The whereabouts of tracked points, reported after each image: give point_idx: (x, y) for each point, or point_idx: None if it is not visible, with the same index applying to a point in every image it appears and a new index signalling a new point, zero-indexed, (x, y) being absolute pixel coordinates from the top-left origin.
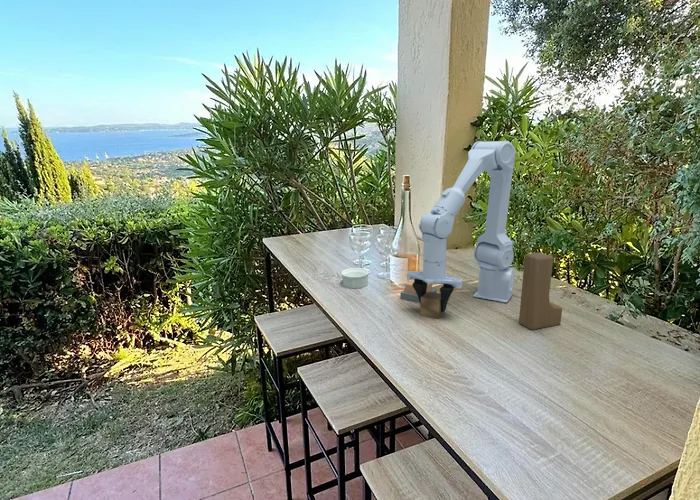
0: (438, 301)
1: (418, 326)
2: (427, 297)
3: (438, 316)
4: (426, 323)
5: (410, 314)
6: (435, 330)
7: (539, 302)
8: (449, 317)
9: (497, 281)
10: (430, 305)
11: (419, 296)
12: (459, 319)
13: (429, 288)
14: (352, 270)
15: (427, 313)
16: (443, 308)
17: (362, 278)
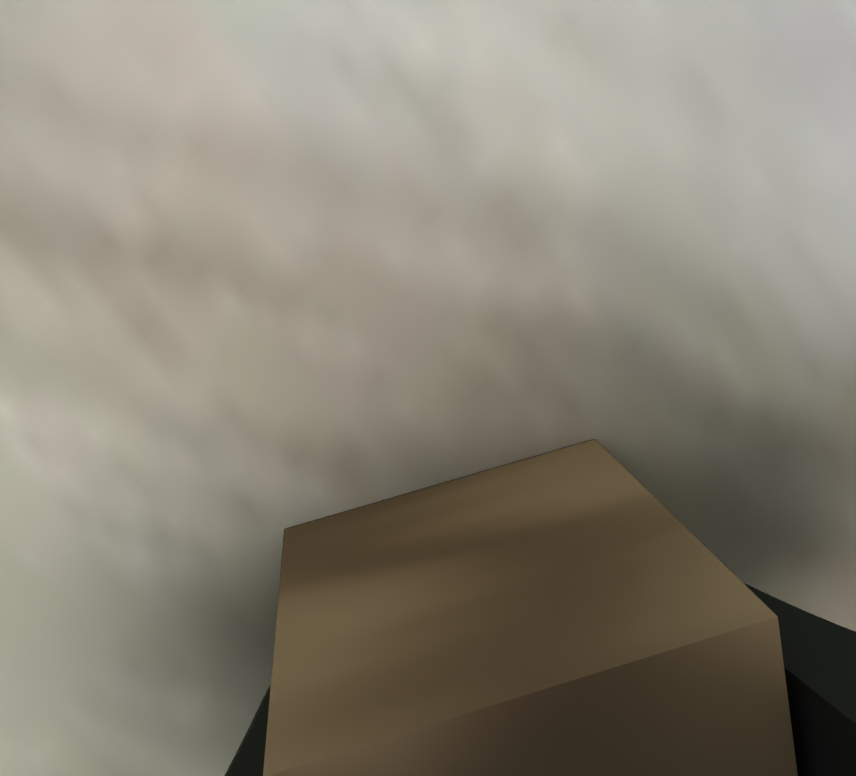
0: (279, 759)
1: (351, 44)
2: (640, 734)
3: (286, 552)
4: (325, 255)
5: (734, 343)
6: (14, 131)
7: None
8: (200, 692)
9: None
10: (470, 605)
11: (846, 659)
12: (41, 746)
13: None
14: None
15: (487, 497)
16: (248, 732)
17: None
